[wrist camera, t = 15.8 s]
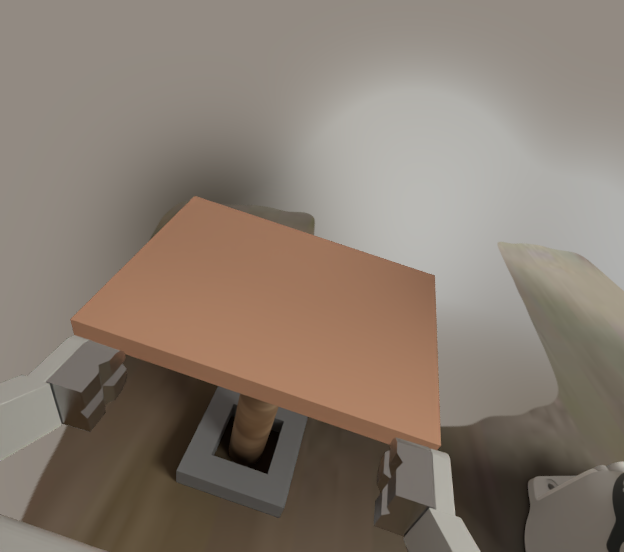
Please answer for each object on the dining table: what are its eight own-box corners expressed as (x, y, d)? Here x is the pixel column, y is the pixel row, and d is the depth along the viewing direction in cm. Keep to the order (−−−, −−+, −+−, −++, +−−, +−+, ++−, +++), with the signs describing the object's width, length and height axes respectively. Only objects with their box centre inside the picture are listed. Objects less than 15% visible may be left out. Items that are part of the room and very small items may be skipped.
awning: (333, 556, 34) (440, 445, 21) (110, 478, 35) (70, 319, 21) (355, 409, 46) (434, 275, 32) (187, 352, 46) (194, 195, 33)
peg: (259, 429, 42) (279, 362, 34) (266, 462, 39) (289, 398, 31) (226, 435, 40) (239, 367, 33) (231, 469, 38) (246, 405, 30)
